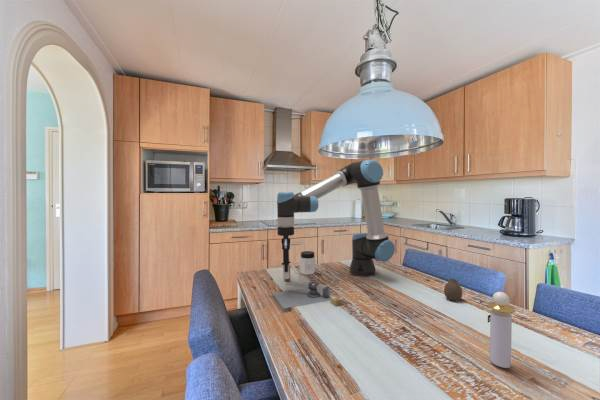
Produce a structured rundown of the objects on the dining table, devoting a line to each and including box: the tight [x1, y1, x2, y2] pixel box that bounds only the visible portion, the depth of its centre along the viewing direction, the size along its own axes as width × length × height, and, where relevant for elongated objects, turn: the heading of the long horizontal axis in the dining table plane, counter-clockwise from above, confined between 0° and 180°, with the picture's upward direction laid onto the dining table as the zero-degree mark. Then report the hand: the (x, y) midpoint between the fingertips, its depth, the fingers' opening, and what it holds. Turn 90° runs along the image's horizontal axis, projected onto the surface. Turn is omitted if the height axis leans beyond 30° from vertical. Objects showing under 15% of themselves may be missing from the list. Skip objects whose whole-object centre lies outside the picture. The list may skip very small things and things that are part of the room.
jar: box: [299, 250, 316, 276], centre depth 154 cm, size 9×8×12 cm
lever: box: [283, 264, 331, 297], centre depth 118 cm, size 22×4×11 cm, turn 67°
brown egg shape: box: [443, 278, 463, 302], centre depth 114 cm, size 7×7×9 cm
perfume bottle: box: [487, 291, 516, 369], centre depth 70 cm, size 6×6×20 cm
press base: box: [272, 287, 335, 313], centre depth 116 cm, size 25×17×4 cm
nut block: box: [329, 294, 345, 307], centre depth 108 cm, size 4×4×4 cm
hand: (286, 278), depth 118 cm, fingers closed
